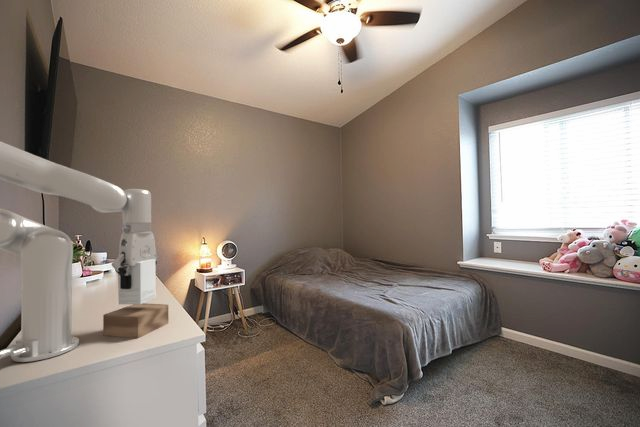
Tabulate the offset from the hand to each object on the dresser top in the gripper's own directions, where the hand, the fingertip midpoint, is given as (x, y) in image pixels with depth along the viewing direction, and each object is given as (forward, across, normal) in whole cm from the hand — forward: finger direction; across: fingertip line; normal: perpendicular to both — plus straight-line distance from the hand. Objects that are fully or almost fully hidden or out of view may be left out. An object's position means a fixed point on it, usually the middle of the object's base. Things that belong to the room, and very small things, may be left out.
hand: (137, 285), depth 89 cm
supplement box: (+5, 0, 0) cm, 5 cm away
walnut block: (+14, 0, 0) cm, 14 cm away
